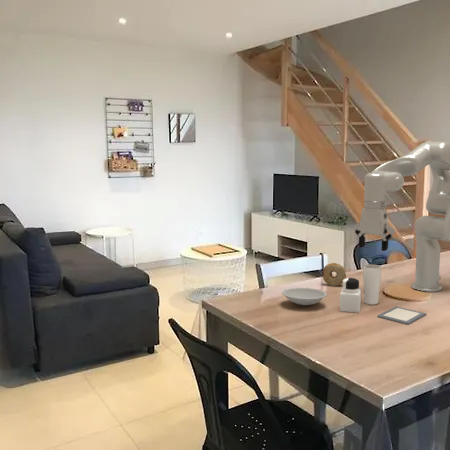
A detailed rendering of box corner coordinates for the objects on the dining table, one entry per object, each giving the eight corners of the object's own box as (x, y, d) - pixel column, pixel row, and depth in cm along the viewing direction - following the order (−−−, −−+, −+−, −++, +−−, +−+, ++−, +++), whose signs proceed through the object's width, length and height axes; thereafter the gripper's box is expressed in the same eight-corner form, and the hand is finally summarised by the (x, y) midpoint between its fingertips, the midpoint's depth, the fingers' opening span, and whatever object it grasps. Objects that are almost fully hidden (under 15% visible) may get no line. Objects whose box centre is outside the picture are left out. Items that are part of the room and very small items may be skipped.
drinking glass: (380, 306, 201) (382, 268, 198) (362, 305, 202) (363, 268, 200) (379, 300, 207) (380, 264, 205) (361, 300, 209) (362, 264, 206)
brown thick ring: (321, 285, 230) (321, 263, 229) (323, 283, 234) (323, 261, 232) (344, 287, 227) (345, 265, 225) (346, 285, 230) (346, 263, 228)
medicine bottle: (360, 307, 200) (361, 277, 198) (359, 313, 194) (359, 282, 192) (341, 305, 203) (342, 276, 201) (339, 311, 196) (340, 280, 194)
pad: (395, 307, 198) (395, 306, 198) (426, 314, 190) (426, 313, 190) (377, 317, 189) (377, 315, 189) (408, 324, 180) (408, 323, 180)
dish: (328, 301, 208) (329, 289, 207) (324, 313, 194) (324, 300, 194) (286, 298, 213) (286, 286, 213) (278, 309, 200) (278, 296, 199)
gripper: (400, 206, 195) (398, 250, 198) (359, 202, 207) (358, 244, 210) (390, 208, 189) (388, 253, 192) (349, 204, 202) (348, 247, 205)
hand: (373, 248), depth 201 cm, fingers open, 9 cm apart
